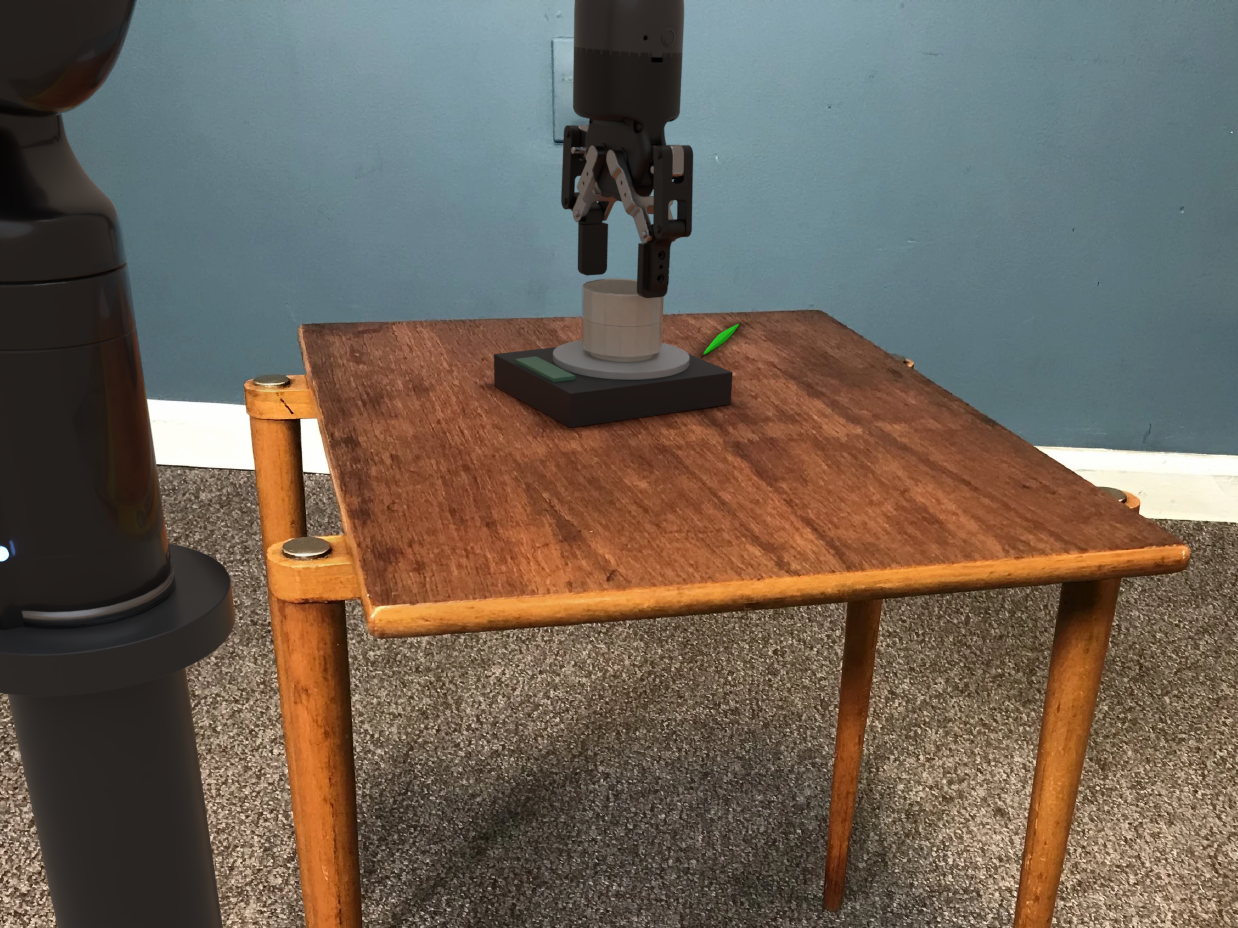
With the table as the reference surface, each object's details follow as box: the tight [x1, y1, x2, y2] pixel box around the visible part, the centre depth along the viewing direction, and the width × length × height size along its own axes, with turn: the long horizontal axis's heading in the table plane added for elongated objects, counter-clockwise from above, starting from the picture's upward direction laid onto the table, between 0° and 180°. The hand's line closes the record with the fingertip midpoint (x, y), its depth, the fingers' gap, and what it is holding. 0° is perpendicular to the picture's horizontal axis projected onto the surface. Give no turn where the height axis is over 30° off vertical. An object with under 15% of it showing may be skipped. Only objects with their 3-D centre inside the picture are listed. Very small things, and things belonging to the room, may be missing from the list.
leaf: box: [700, 322, 741, 358], centre depth 121 cm, size 1×14×1 cm, turn 164°
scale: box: [493, 339, 733, 429], centre depth 103 cm, size 14×12×3 cm
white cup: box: [581, 278, 665, 362], centre depth 102 cm, size 6×6×5 cm
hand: (621, 285), depth 101 cm, fingers open, 8 cm apart
